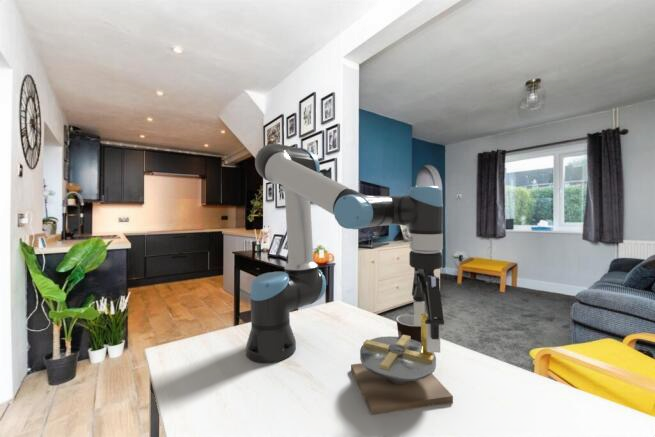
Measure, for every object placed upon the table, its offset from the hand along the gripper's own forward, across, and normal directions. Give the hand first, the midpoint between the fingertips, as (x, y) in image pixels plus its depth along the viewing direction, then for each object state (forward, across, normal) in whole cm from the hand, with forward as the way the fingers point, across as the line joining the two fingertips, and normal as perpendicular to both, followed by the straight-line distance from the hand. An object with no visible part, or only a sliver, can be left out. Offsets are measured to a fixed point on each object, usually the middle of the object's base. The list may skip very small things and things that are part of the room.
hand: (425, 337), depth 70 cm
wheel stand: (+12, 0, -7) cm, 14 cm away
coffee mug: (+12, -17, 0) cm, 21 cm away
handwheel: (+5, 0, -7) cm, 9 cm away
